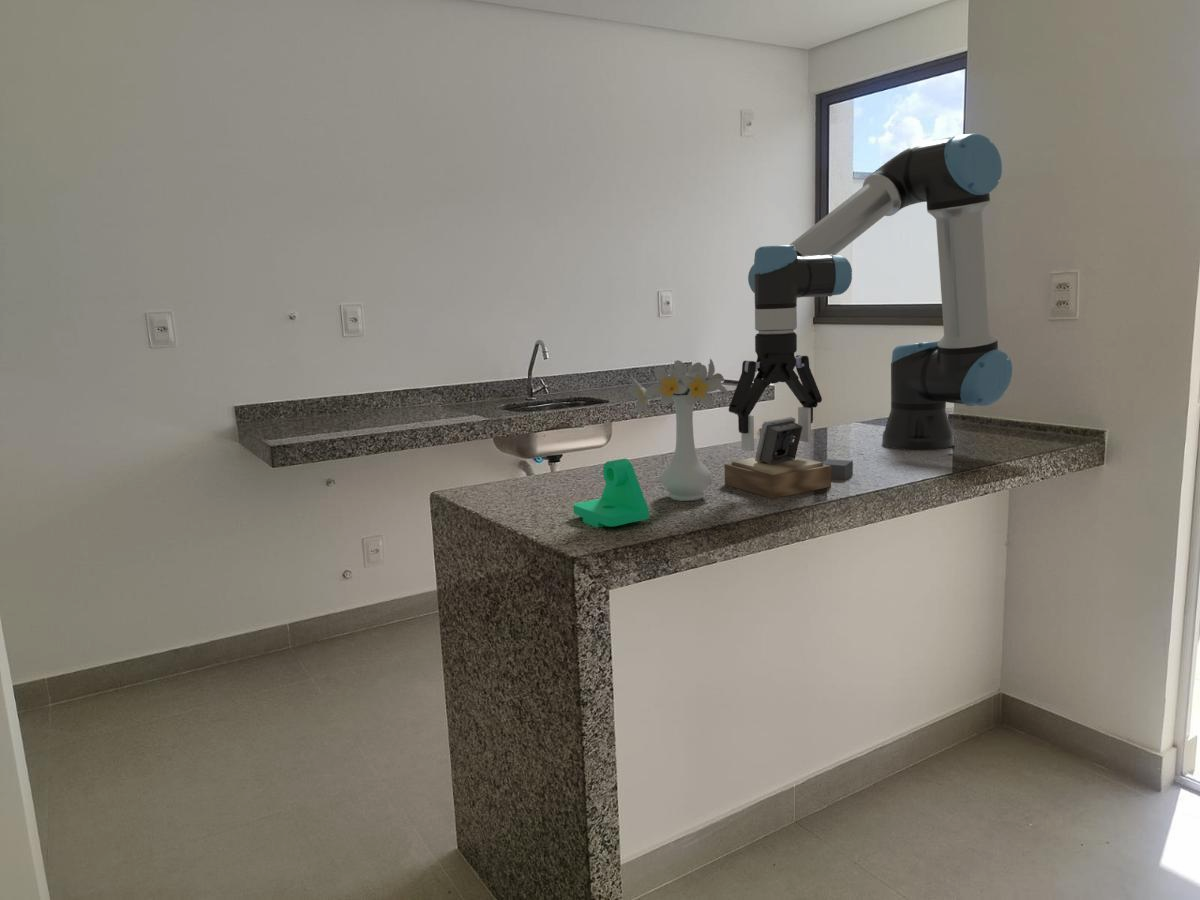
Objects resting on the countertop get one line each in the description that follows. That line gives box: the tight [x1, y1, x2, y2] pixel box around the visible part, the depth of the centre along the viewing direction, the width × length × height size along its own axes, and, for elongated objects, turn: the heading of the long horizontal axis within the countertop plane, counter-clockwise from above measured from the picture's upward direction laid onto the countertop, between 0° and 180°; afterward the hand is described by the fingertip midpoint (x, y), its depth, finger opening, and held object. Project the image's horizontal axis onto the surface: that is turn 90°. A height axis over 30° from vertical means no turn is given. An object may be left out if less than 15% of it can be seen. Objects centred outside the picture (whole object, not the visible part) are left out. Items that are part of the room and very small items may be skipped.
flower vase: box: [628, 357, 730, 502], centre depth 155 cm, size 13×18×25 cm
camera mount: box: [572, 458, 650, 528], centre depth 144 cm, size 12×8×10 cm, turn 33°
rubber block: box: [822, 458, 854, 481], centre depth 169 cm, size 5×5×3 cm
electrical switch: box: [754, 416, 802, 465], centre depth 162 cm, size 8×5×8 cm, turn 126°
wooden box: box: [724, 456, 832, 499], centre depth 163 cm, size 14×14×5 cm
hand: (776, 445), depth 162 cm, fingers open, 13 cm apart
